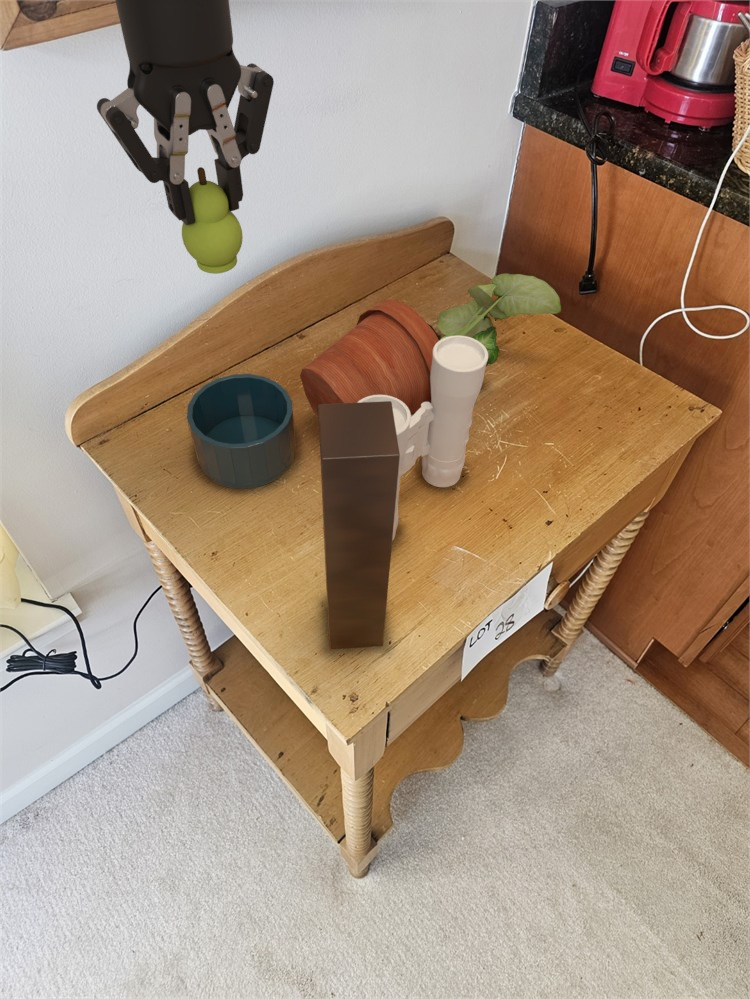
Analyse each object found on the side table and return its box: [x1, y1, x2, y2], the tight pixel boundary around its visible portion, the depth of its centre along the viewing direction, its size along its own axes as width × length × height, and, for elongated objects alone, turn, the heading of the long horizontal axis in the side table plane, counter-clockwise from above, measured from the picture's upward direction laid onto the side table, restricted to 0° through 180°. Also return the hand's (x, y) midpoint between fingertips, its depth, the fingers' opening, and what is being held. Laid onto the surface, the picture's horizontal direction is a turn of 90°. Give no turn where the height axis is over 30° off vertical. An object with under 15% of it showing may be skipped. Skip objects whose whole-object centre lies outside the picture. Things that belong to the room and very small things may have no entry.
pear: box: [181, 166, 243, 275], centre depth 60 cm, size 5×5×9 cm
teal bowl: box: [186, 373, 297, 490], centre depth 81 cm, size 12×12×7 cm
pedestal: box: [318, 401, 400, 651], centre depth 59 cm, size 5×5×28 cm
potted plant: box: [299, 272, 562, 419], centre depth 87 cm, size 16×15×35 cm
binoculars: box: [357, 335, 488, 542], centre depth 73 cm, size 17×5×18 cm, turn 138°
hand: (208, 212), depth 60 cm, fingers closed on pear, 3 cm apart
